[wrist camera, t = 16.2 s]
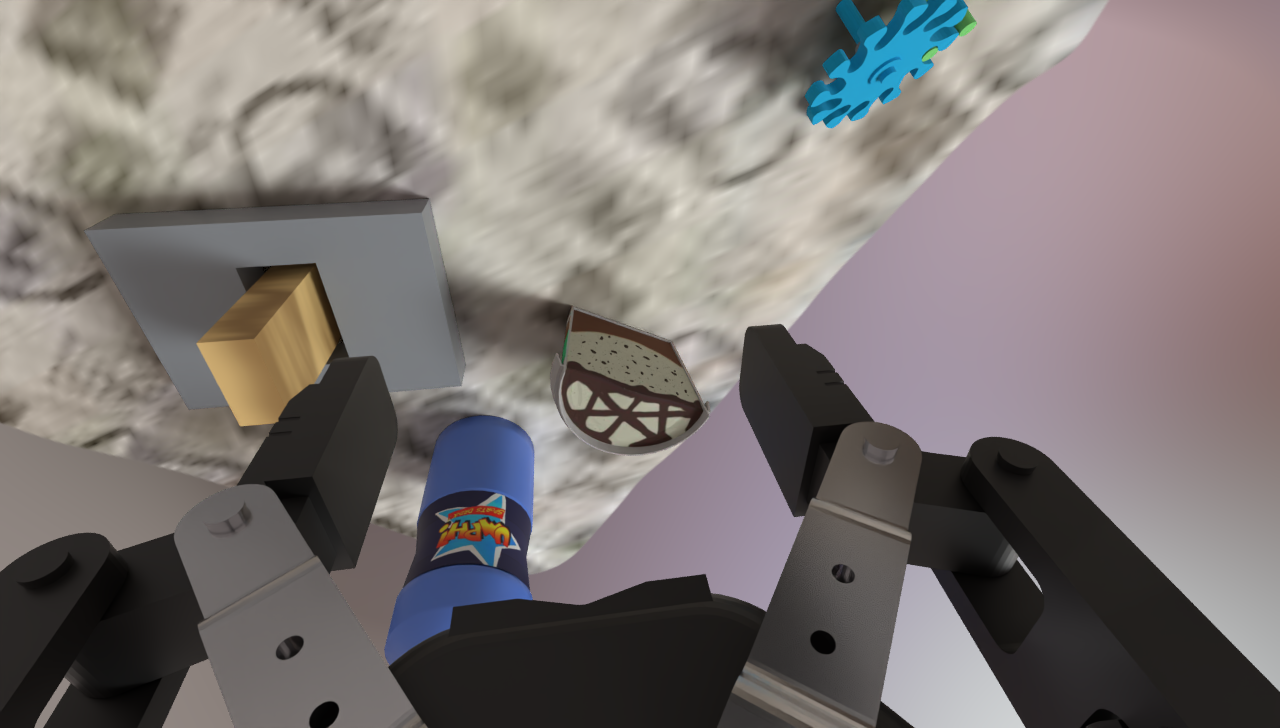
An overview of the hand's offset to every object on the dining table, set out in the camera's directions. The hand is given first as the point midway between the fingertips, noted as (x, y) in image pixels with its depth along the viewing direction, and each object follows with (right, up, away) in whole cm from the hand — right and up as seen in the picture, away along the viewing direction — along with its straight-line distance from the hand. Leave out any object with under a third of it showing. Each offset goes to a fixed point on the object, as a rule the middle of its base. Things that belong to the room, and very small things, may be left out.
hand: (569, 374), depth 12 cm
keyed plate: (-23, +5, +29) cm, 38 cm away
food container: (-1, +1, +36) cm, 36 cm away
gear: (+16, +21, +26) cm, 37 cm away
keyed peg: (-23, +5, +29) cm, 38 cm away
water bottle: (-13, -8, +40) cm, 43 cm away
